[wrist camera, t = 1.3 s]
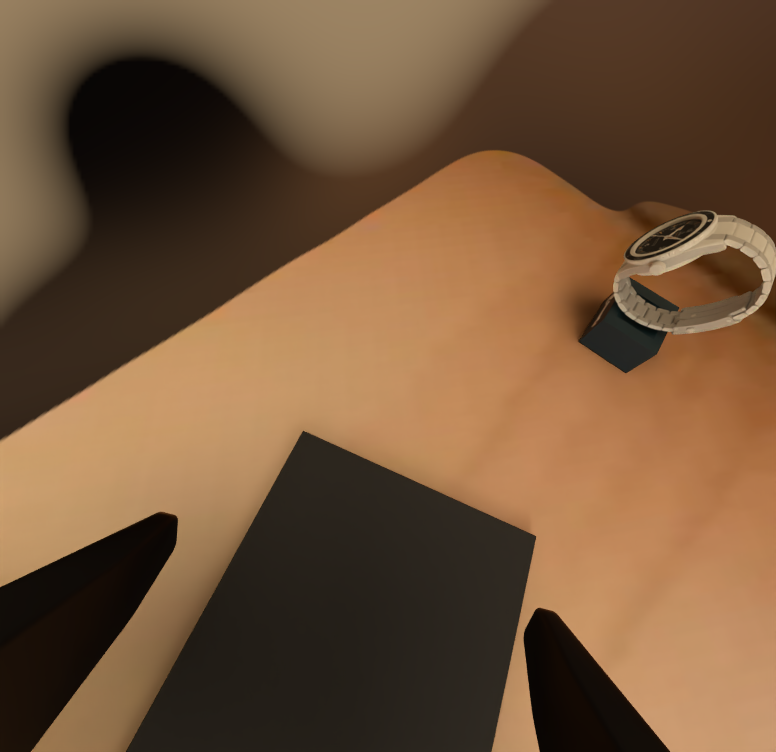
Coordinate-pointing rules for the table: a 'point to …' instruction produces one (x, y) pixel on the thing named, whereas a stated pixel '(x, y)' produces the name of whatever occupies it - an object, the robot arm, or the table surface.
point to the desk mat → (350, 622)
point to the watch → (654, 313)
